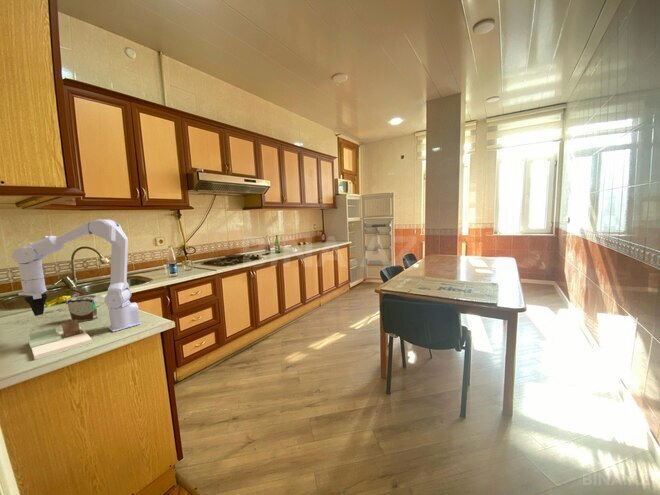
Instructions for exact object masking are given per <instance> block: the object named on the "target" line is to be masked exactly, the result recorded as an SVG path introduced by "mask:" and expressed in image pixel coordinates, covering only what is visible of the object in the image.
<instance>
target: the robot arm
mask: <svg viewBox="0 0 660 495" xmlns="http://www.w3.org/2000/svg"><path fill="white" fill-rule="evenodd" d="M85 235H86V236H87V235H94V236H97V237H99V238H102V239H104V240H106V241H107V242H108V243H110V244H111V254H110V284H109V285H108V288H107V294H106V295H105V297H104V300H103V301H104V304H105V306H107V307H108V308H107V309H108V315H109V323H110V325H108V326H107V328H108V329H109V330H110V331H111V332H114V333H115V332H118V331H121V330H125V329H127V328H131V327H135V326H139V325H141V324H142V322H141V316H140V310H139V306H138V303H137V302H131V301H130V299H131V297H132V291H131V289H130V284H129V283H128V281H127V280H128V279H127V278H128V253H129V238H128V236H127V235H126V234H125V232H124V231H123V229H122V226H121V224H119V223H118V222H117V221H115V220H113V219H111V218H110V219H109V218H107V219H102V218H97V219H93V220H92V221H87V222H85V223H84V222H83V223H82V224H80V225H78V226H76V227H74V228H72V229H70V230H68V231H66V232H64V233H61V234H60V235H58V236H55V235H44V236H42V237H41V238H42V239H40V240H37V241H35V242H30V243H27V245H28V246H20V247H17V248H16V249H14V250H13V252H12V253H11V254H12V255H11V257H12V259H13V261H14V262H16V263H17V264H18V265H17V266H18V272H19V276H20V281H21V282H20V283H21V288H22V292H18V296H24V297H23V299H24V300H25V302H26V303H27V304H28V305H29V306H30V309H31V310H32V313H33V315H34V316H35V317H38V316H41V315H44V312H45V304H46V301H47V299H48V295H47V291H48V289H47V287H46V281H45V280H46V279H45V276H44V269H43V264H42V263H43V262H42V260H43V259H44V258H45V257H47V256H49V255H51V254H53V253H56V252H58V251H60V250H62V249H64V246H65V244H67V243H69V242H72V241H75V240H76V239H78V238H82V237H84V236H85Z"/></svg>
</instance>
